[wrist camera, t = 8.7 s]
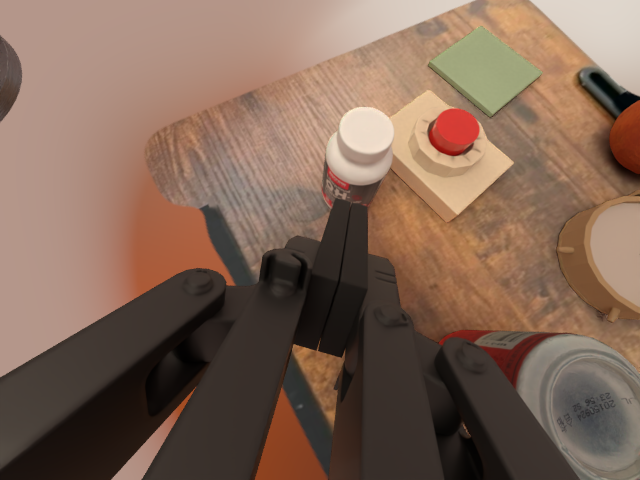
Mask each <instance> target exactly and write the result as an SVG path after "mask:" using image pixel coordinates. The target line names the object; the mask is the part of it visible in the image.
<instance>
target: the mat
mask: <svg viewBox="0 0 640 480" xmlns="http://www.w3.org/2000/svg"><path fill="white" fill-rule="evenodd" d="M428 66H429V67H430V68H432V69H433V70H434V71H435V72H436V73H438V74H439V75H440V76H441V77H442V78H444V79H445V80H446V81H447V82H448V83H450V84H451V85H452V86H453V87H454V88H456V89H457V90H458V91H459V92H460V93H461V94H463V95H464V96H465V97H466V98H467V99H469V100H470V101H471V102H472V103H473V104H475V105H476V106H477V107H478V108H479V109H481V110H482V111H483V112H484V113H485V114H486V115H488V116H489V117H491V116H493V115H494V114H495V113H496V112H497V111H499V110H500V109H501V108H502V107H504V106H505V105H506V104H507V103H508V102H510V101H511V100H512V99H513V98H514V97H516V96H517V95H518V94H519V93H520V92H522V91H523V90H524V89H525V88H526V87H528V86H529V85H530V84H531V83H532V82H534V81H535V80H536V79H537V78H538V77H540V76H541V74H542V73H543V72H542V71H540V70H539V69H538V68H536V67H535V66H534V65H532V64H531V63H530V62H528V61H527V60H526V59H524V58H523V57H522V56H521V55H519V54H518V53H517V52H515V51H514V50H513V49H511V48H510V47H509V46H507V45H506V44H505V43H503V42H502V41H501V40H500V39H498V38H497V37H496V36H494V35H493V34H492V33H490V32H489V31H488V30H486V29H485V28H484V27H482V26H480V27H478V28H477V29H475V30H474V31H472V32H471V33H470V34H468V35H467V36H465V37H464V38H462V39H461V40H460V41H458V42H457V43H455V44H454V45H452V46H451V47H450V48H448V49H447V50H445V51H444V52H442V53H441V54H440V55H438V56H437V57H435V58H434V59H432V60H431V61H430V62H429V64H428Z"/></svg>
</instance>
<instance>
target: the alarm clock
mask: <svg viewBox="0 0 640 480" xmlns="http://www.w3.org/2000/svg"><path fill="white" fill-rule="evenodd" d="M556 251H557V254H558V259H559V263H560V268H561V270H562V272H563V274H564V276H565V278H566V280H567V282H568V283H569V285H570V286H571V288H572V289H573V290H574V291H575V292H576V293H577V294H578V295H579V296H580V297H581V298H582V299H583V300H584V301H585V302H586V303H588V304H589V305H591V306H593V307H594V308H596V309H597V310H599V311H600V312H602V313H605V314H608V319H607V321H609V322H612V323H613V322H614V321H615V320H616V319H617V318H620V319H637V320H640V190H637V191H635V192H633V193H632V194H630V195H628V196H623V197H619V198H616V199H613V200H609V201H606V202H604V203H603V204H601V205H598V206H596V207H593V208H591V209H588V210H586V211H582V212H580V213H578V214H577V215H575V216H574V217H573V218H571V219H570V220H569V221H567V222H566V224H565V226H564V228H563V229H562V231H561V233H560V235H559V240H558V247H557V248H556Z"/></svg>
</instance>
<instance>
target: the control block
mask: <svg viewBox="0 0 640 480" xmlns="http://www.w3.org/2000/svg"><path fill="white" fill-rule="evenodd" d="M451 108H454V107H451V106H448V105H447V104H446V103H444V102H443V101H442V100H441V99H440V98H439V97H438V96H436V95H435V94H434V93H433V92H432V91H431V90H429V89H428V90H427V91H425V92H424V93H423V94H421V95H420V96H419V97H417V98H416V99H414V100H413V101H412V102H410V103H409V104H408V105H406V106H405V107H404V108H402V109H401V110H399V111H398V112H397V113H395V114H394V115H393V116H391V117H390V118H389V119H390V120H391V122H392V124H393V127H394V139H393V142H392V144H391V147H392V151H393V159H392V163H391V166H390V168H391V169H392V170H393V171H394V172H395V173H396V174H397V175H398V176H399V177H400V178H401V179H402V180H403V181H404V182H405V183H406V184H407V185H408V186H409V187H410V188H411V189H412V190H413V191H414V192H415V193H416V194H417V195H418V196H419V197H421V198H422V199H423V200H424V201H425V202H426V203H427V204H428V205H429V206H430V207H431V208H432V209H433V210H434V211H435V212H436V213H437V214H438V215H439V216H440V217H441V218H442V219H443V220H444V221H445V222H446V223H448V222H449V221H451V220H452V219H453V218H455V217H456V216H458V215H459V214H460V213H461V212H462V211H463V210H464V209H465V208H466V207H467V206H469V205H470V204H471V203H472V202H473V201H474V200H475V199H476V198H477V197H478V196H479V195H480V194H482V193H483V192H484V191H485V190H486V189H487V188H488V187H489V186H490V185H491V184H492V183H494V182H495V181H496V180H497V179H498V178H499V177H500V176H501V175H502V174H503V173H504V172H505V171H507V170H508V169H509V168H510V167H511V166H512V165H513V164H514V162H513V161H512V160H511V159H510V158H508V157H507V156H506V155H505V154H504V153H503V152H501V151H500V150H499V149H498V148H497V147H496V146H494V145H493V144H492V143H491V142H490V141H489V140H487V137H486V135H485V132H484V130H483V128H482V125H481V124H480V122H479V121H477V122H478V124H479V128H480V132H479V136H478V138H477V139H476V140H475V141H474V142H473V143H472V145H471V146H470V147H469V148H468V149H467V150H466V151H465V152H464V153H462V154H460V155H457V156H449V155H446V154H443V153H440V152H439V151H438V150H437V149H435V148H434V147H433V146H432V144H431V143H430V140H429V131H430V129H431V127H432V125H433V124H434V122H435V121H436V119H437V117H438V116H439V115H440V113H442V112H443V111H445V110H447V109H451Z"/></svg>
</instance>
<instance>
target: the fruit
mask: <svg viewBox="0 0 640 480" xmlns="http://www.w3.org/2000/svg"><path fill="white" fill-rule="evenodd" d="M609 142H610V147H611V150H612V152H613V154H614V157H615V158H616V159H617V161H618V162H619V163H620V164H621V165H622V166H624V167H625V168H627V169H629V170H631V171H632V172H635V173H637V174H640V100H639V101H638V102H636V103H634V104H632V105H631V106H630V107H628V108H627V109H626V110H624V111H623V112H622V113H621V114H620V115H619V116H618V118H617V120H616V121H615V123H614V125H613V127H612V129H611V131H610V137H609Z"/></svg>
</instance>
